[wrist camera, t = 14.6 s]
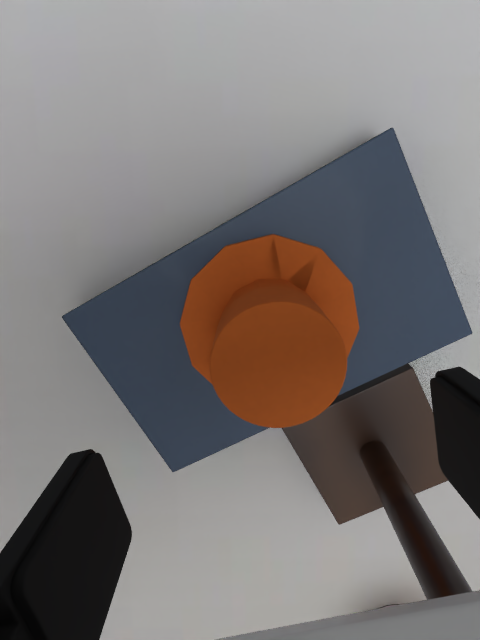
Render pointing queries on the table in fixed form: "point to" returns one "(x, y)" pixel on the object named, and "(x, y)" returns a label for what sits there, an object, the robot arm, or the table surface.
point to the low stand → (300, 225)
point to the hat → (271, 329)
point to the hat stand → (382, 467)
